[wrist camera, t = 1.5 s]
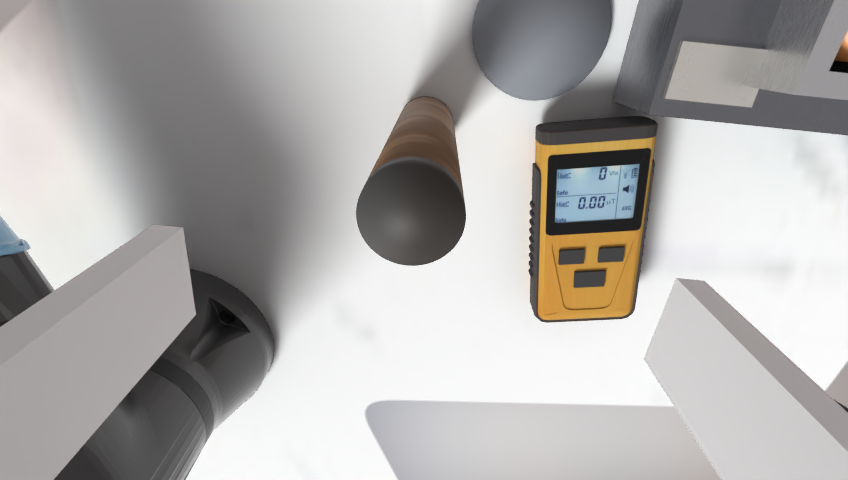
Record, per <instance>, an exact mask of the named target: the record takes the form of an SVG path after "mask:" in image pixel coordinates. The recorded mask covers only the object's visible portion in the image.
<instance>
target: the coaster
mask: <svg viewBox="0 0 848 480" xmlns="http://www.w3.org/2000/svg"><path fill="white" fill-rule="evenodd" d="M610 27H611V6H610V0H479V2H478V5H477V8H476V12H475V16H474V21H473V45H474V50H475V54H476V57H477V60H478V63H479V65H480V67H481V69H482V70H483V72H484V74H485V75H486V76H487V78H488V79H489V80H490V81H491V82H492V83H493V84H494V85H495V86H496V87H497V88H499V89H500V90H502V91H503V92H504V93H506V94H509V95H511V96H513V97H516V98H519V99H524V100H545V99H549V98H553V97H556V96H559V95H561V94H563V93H565V92H567V91H569V90H571V89H572V88H574V87H575V86H577V85H578V84H579V83H580V82H581V81H583V80H584V79H585V78H586V77H587V76H588V74H589V73H590V72H591V71H592V70H593V68H594V67H595V66H596V64H597V63H598V61H599V59H600V57H601V56H602V53H603V51H604V49H605V47H606V44H607V40H608V37H609V32H610Z"/></svg>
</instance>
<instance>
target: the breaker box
mask: <svg viewBox="0 0 848 480" xmlns="http://www.w3.org/2000/svg"><path fill="white" fill-rule="evenodd" d="M847 31H848V0H639V2H638V6H637V10H636V14H635V17H634V21H633V25H632V29H631V32H630V36H629V40H628V44H627V47H626V51H625V55H624V58H623V62H622V66H621V70H620V73H619V77H618V81H617V85H616V88H615V92H614V96H613V99H612V101H614V102H617V103H619V104H622V105H625V106H627V107H630V108H632V109H635V110H638V111H640V112H643V113H645V114H648V115H656V116H666V117H675V118H685V119H695V120H705V121H714V122H724V123H734V124H743V125H753V126H763V127H773V128H782V129H792V130H802V131H812V132H821V133H831V134H841V135H848V62H841V61H834V59H835V57H836V55H837V53H838V50H839V48H840V46H841V44H842V42H843V39H844V37H845V35H846V33H847Z"/></svg>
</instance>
